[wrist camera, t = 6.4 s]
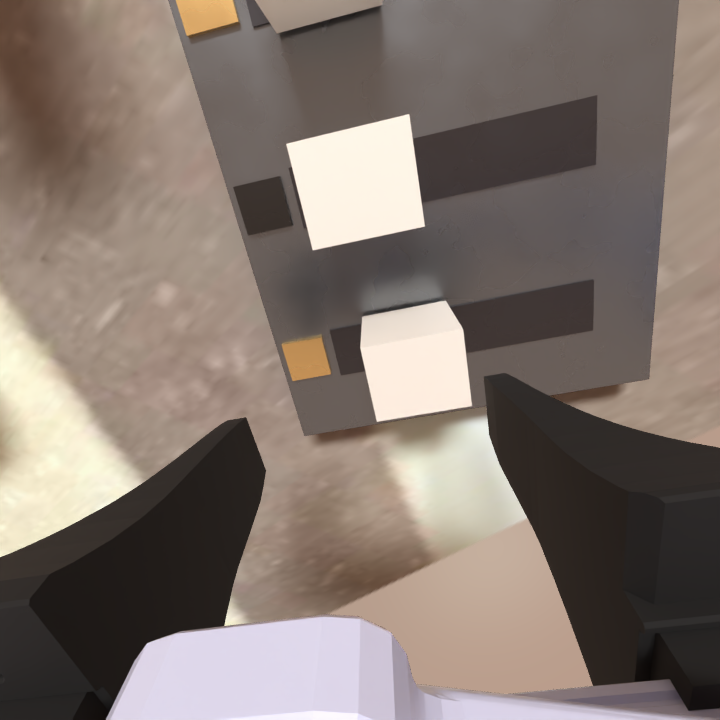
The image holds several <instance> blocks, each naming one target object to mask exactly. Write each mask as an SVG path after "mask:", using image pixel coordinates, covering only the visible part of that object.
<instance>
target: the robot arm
mask: <svg viewBox="0 0 720 720" xmlns="http://www.w3.org/2000/svg"><path fill="white" fill-rule="evenodd" d="M484 386H485V396H486V406H487V416H488V426H489V436H490V438H491V441H492V444H493V447H494V450H495V453H496V455H497V458H498V461H499V464H500V466H501V468H502V470H503V472H504V474H505V476H506V477H507V479H508V481H509V483H510V485H511V487H512V489H513V491H514V493H515V495H516V497H517V499H518V501H519V502H520V504H521V506H522V508H523V510H524V512H525V514H526V516H527V518H528V520H529V521H530V523H531V525H532V527H533V529H534V531H535V534H536V536H537V538H538V540H539V542H540V544H541V547H542V549H543V552H544V555H545V557H546V560H547V562H548V565H549V567H550V570H551V572H552V575H553V577H554V579H555V582H556V585H557V588H558V591H559V593H560V596H561V598H562V601H563V604H564V606H565V609H566V611H567V614H568V617H569V620H570V622H571V625H572V628H573V631H574V633H575V636H576V639H577V642H578V644H579V647H580V650H581V653H582V655H583V658H584V661H585V663H586V667H587V669H588V672H589V675H590V678H591V681H592V684H593V686H589V687H578V688H568V689H556V690H547V691H535V692H525V693H513V694H500V693H491V692H482V691H474V690H464V689H456V688H447V687H439V686H430V685H421V684H416V683H415V681H414V679H413V677H412V673H411V669H410V665H409V662H408V658H407V654H406V653H405V651H404V650H403V648H402V647H401V646H400V644H399V643H398V642H397V640H396V639H395V637H394V636H393V635H392V633H391V632H389V631H388V630H387V629H385V628H383V627H381V626H379V625H376V624H374V623H372V622H370V621H368V620H365V619H363V618H361V617H359V616H345V615H328V614H324V615H316V616H307V617H299V618H290V619H281V620H273V621H264V622H256V623H247V624H239V625H230V626H224V624H225V619H226V614H227V610H228V605H229V601H230V596H231V592H232V588H233V583H234V580H235V576H236V573H237V569H238V566H239V563H240V560H241V557H242V554H243V551H244V549H245V546H246V543H247V540H248V537H249V534H250V531H251V528H252V525H253V522H254V519H255V516H256V513H257V510H258V507H259V504H260V501H261V496H262V491H263V486H264V479H265V473H266V470H265V467H264V464H263V461H262V459H261V456H260V453H259V451H258V448H257V445H256V443H255V440H254V437H253V435H252V432H251V429H250V427H249V424H248V421H247V418H240V419H234V420H228V421H226V422H224V423H223V424H221V425H219V426H218V427H217V428H215V429H214V430H213V431H211V432H210V433H209V434H207V435H206V436H205V437H203V438H202V439H201V440H200V441H198V442H197V443H196V444H194V445H193V446H192V447H191V448H189V449H188V450H187V451H186V452H184V453H183V454H182V455H180V456H179V457H178V458H177V459H175V460H174V461H173V462H171V463H170V464H168V465H167V466H166V467H164V468H163V469H162V470H160V471H159V472H158V473H156V474H155V475H153V476H152V477H151V478H149V479H148V480H147V481H145V482H144V483H142V484H141V485H139V486H138V487H136V488H135V489H133V490H132V491H130V492H128V493H127V494H125V495H124V496H122V497H120V498H119V499H117V500H116V501H114V502H112V503H111V504H109V505H107V506H105V507H104V508H102V509H100V510H98V511H96V512H94V513H93V514H91V515H89V516H87V517H85V518H83V519H82V520H80V521H78V522H76V523H74V524H72V525H71V526H69V527H67V528H65V529H63V530H60V531H58V532H56V533H54V534H52V535H50V536H48V537H46V538H44V539H42V540H39V541H37V542H35V543H33V544H31V545H29V546H26V547H24V548H22V549H19V550H17V551H15V552H13V553H10V554H8V555H5V556H3V557H0V720H720V448H718V447H713V446H707V445H702V444H696V443H690V442H685V441H681V440H676V439H671V438H667V437H663V436H659V435H655V434H651V433H647V432H643V431H639V430H636V429H632V428H629V427H626V426H622V425H619V424H616V423H613V422H610V421H607V420H605V419H602V418H599V417H596V416H593V415H591V414H588V413H586V412H583V411H581V410H579V409H576V408H574V407H572V406H569V405H567V404H565V403H563V402H561V401H559V400H556V399H554V398H552V397H550V396H548V395H546V394H544V393H543V392H541V391H539V390H537V389H535V388H533V387H531V386H529V385H528V384H526V383H524V382H522V381H520V380H518V379H517V378H515V377H513V376H511V375H509V374H507V373H501V374H495V375H489V376H484Z"/></svg>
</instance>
